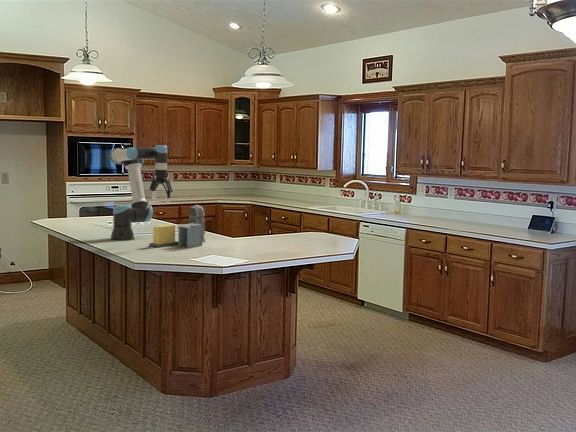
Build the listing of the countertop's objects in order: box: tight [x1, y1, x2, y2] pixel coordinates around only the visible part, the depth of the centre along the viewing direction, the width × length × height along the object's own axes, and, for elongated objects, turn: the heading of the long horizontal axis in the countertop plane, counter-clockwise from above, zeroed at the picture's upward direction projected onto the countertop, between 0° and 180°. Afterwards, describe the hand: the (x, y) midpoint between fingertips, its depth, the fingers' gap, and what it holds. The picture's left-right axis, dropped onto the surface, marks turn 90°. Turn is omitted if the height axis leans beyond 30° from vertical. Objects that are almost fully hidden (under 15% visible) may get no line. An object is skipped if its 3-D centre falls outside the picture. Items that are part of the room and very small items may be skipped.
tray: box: [148, 240, 178, 249], centre depth 389 cm, size 9×18×2 cm, turn 143°
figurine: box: [187, 204, 206, 243], centre depth 408 cm, size 10×14×25 cm
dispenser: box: [177, 223, 203, 249], centre depth 389 cm, size 9×12×14 cm
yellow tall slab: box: [152, 224, 176, 245], centre depth 389 cm, size 5×14×12 cm, turn 143°
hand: (160, 202), depth 394 cm, fingers open, 13 cm apart
